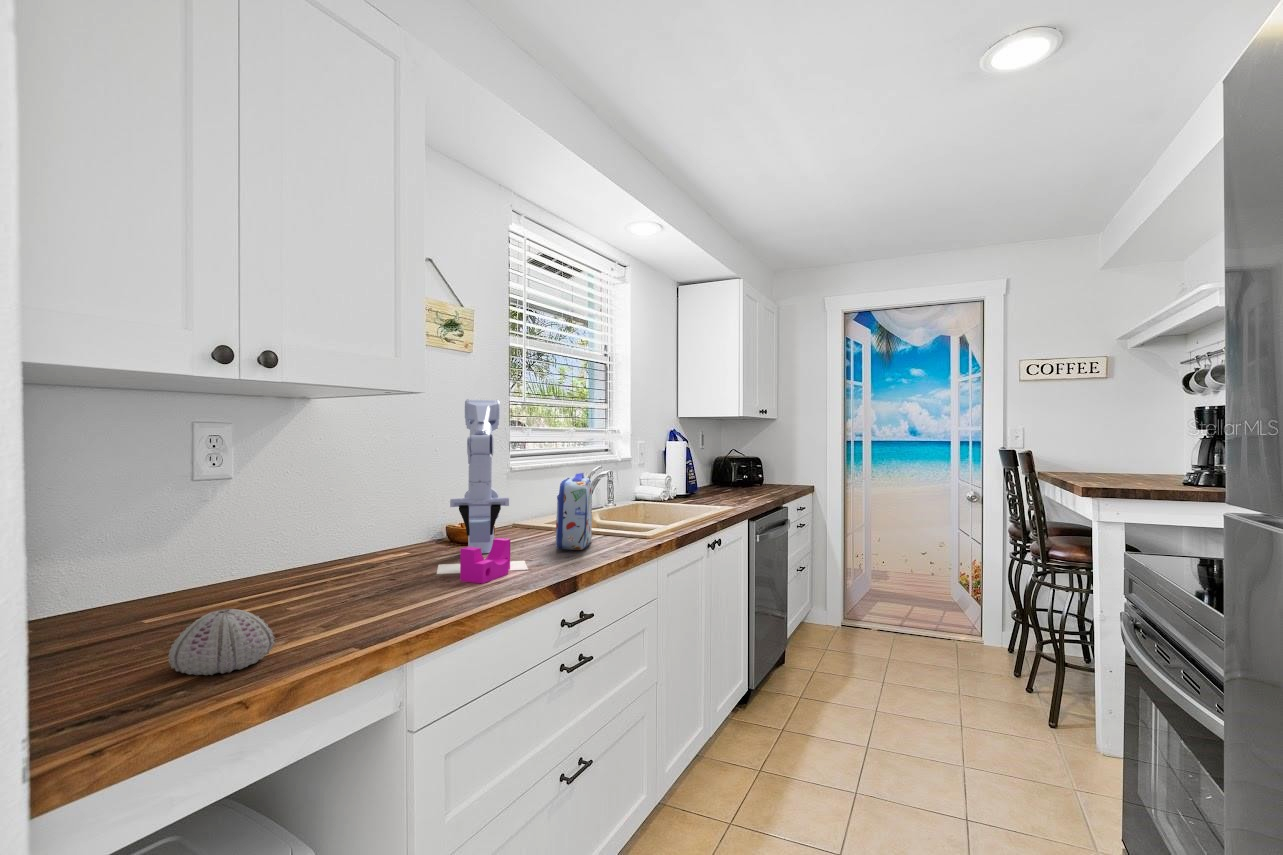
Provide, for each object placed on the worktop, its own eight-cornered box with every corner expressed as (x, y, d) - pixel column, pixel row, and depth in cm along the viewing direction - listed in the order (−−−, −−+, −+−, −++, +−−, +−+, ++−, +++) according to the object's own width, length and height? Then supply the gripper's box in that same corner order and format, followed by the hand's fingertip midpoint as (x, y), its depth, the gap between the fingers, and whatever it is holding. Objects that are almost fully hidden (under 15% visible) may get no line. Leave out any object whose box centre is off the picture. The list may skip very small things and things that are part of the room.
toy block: (482, 583, 146) (483, 551, 146) (460, 580, 148) (460, 548, 148) (518, 569, 160) (518, 539, 160) (497, 567, 162) (497, 538, 162)
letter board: (438, 565, 166) (438, 564, 166) (524, 561, 171) (524, 560, 171) (436, 574, 155) (436, 573, 155) (528, 570, 161) (528, 569, 161)
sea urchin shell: (211, 687, 87) (212, 628, 87) (144, 674, 92) (144, 618, 92) (294, 655, 99) (294, 603, 100) (231, 645, 104) (231, 595, 104)
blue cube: (469, 539, 165) (469, 520, 165) (489, 538, 166) (489, 519, 166) (469, 542, 160) (469, 522, 160) (489, 542, 161) (490, 522, 162)
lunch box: (561, 538, 209) (561, 471, 209) (592, 538, 209) (593, 471, 209) (553, 554, 181) (553, 477, 181) (589, 554, 182) (590, 477, 182)
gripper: (449, 483, 158) (449, 538, 158) (509, 482, 161) (509, 536, 161) (450, 480, 164) (450, 533, 164) (508, 480, 168) (507, 531, 168)
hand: (479, 534), depth 163 cm, fingers closed on blue cube, 5 cm apart
